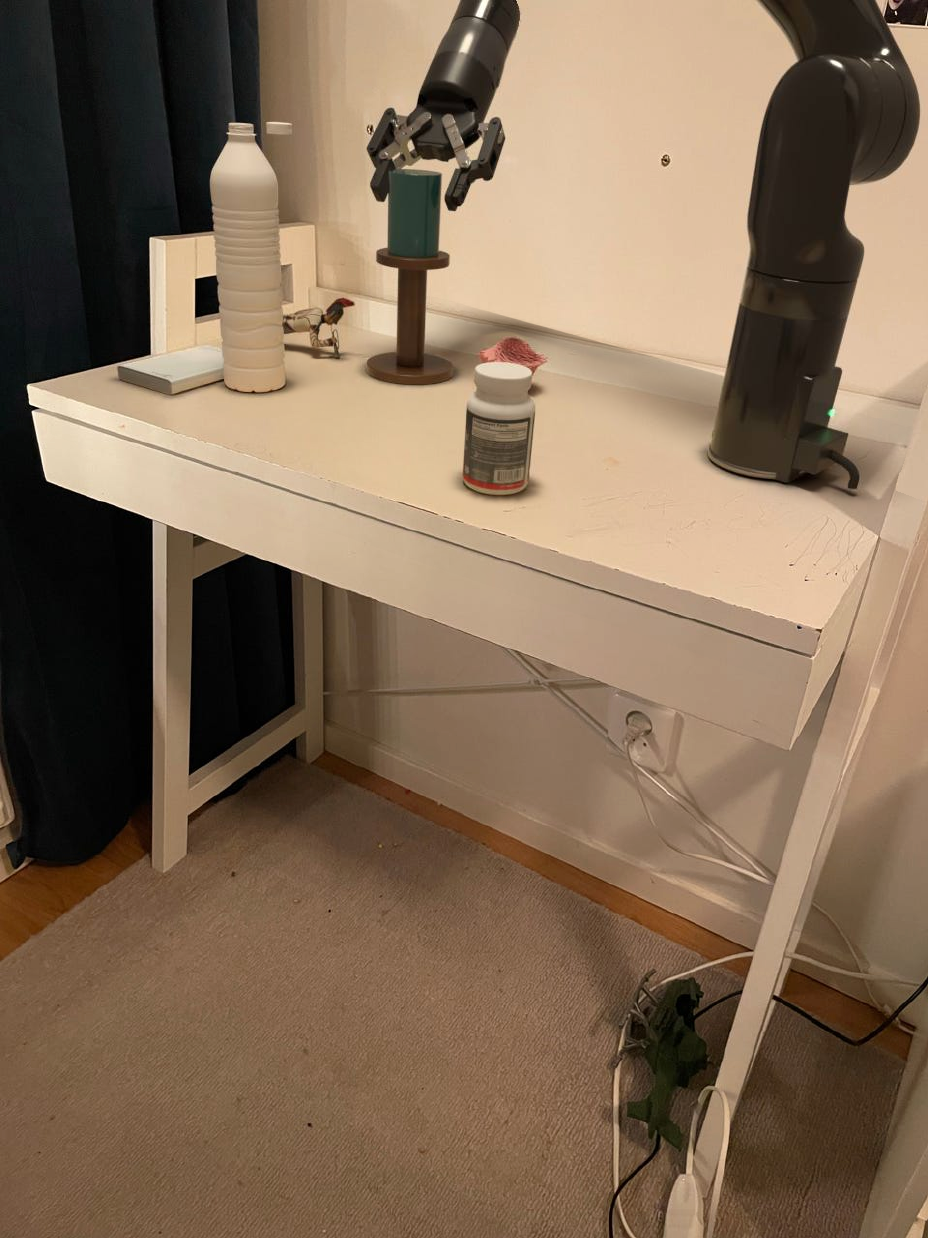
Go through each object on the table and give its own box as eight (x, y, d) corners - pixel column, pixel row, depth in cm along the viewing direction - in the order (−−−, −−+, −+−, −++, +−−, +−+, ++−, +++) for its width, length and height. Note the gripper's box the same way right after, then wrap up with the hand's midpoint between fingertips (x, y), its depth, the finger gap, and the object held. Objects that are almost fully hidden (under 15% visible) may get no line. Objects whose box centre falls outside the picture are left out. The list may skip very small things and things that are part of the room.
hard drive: (171, 380, 94) (256, 356, 104) (116, 364, 98) (203, 342, 107) (172, 396, 95) (257, 370, 105) (118, 379, 99) (204, 356, 108)
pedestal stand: (470, 375, 108) (478, 256, 101) (407, 390, 102) (411, 265, 95) (411, 355, 114) (415, 242, 107) (348, 368, 107) (347, 249, 101)
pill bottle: (477, 466, 83) (484, 355, 78) (537, 479, 82) (548, 366, 76) (451, 488, 79) (458, 372, 74) (514, 502, 77) (525, 384, 72)
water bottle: (245, 396, 96) (228, 124, 84) (212, 381, 100) (192, 118, 88) (314, 383, 102) (309, 125, 89) (281, 369, 106) (271, 120, 93)
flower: (558, 391, 105) (564, 341, 102) (509, 403, 100) (513, 351, 97) (508, 373, 109) (512, 325, 107) (459, 384, 104) (461, 334, 102)
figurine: (251, 372, 115) (360, 356, 110) (233, 354, 112) (346, 336, 106) (258, 332, 117) (366, 313, 112) (241, 312, 113) (351, 292, 108)
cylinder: (449, 255, 101) (453, 174, 97) (411, 259, 98) (414, 175, 94) (414, 246, 104) (416, 168, 100) (376, 250, 101) (377, 169, 97)
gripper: (395, 44, 100) (341, 168, 97) (517, 51, 95) (465, 182, 92) (415, 100, 107) (366, 217, 104) (531, 110, 102) (483, 233, 99)
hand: (412, 200), depth 98 cm, fingers open, 8 cm apart
